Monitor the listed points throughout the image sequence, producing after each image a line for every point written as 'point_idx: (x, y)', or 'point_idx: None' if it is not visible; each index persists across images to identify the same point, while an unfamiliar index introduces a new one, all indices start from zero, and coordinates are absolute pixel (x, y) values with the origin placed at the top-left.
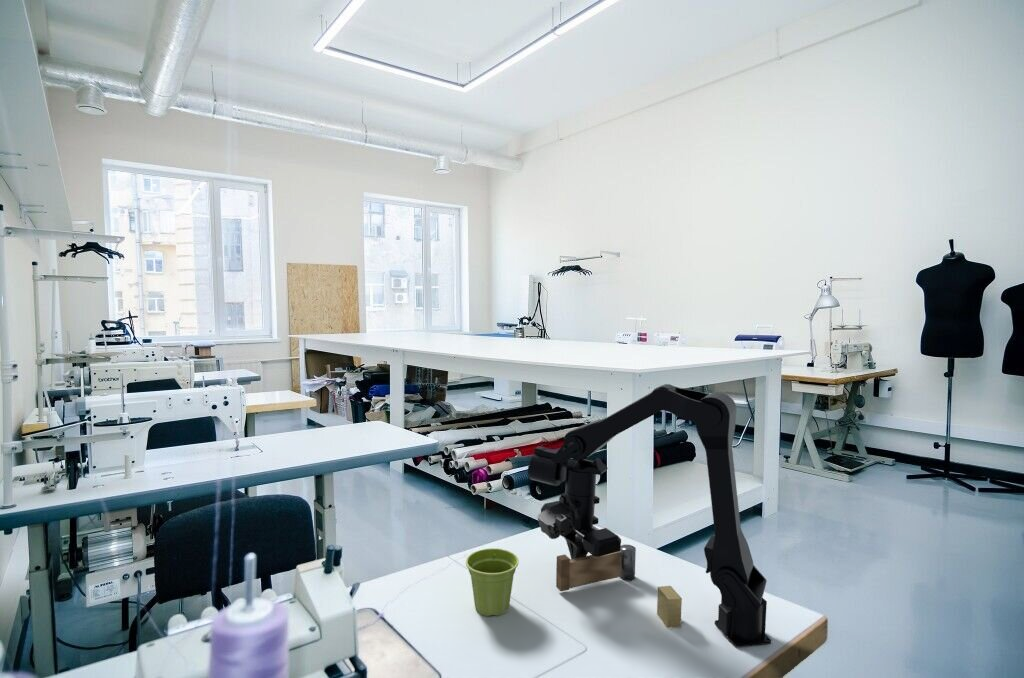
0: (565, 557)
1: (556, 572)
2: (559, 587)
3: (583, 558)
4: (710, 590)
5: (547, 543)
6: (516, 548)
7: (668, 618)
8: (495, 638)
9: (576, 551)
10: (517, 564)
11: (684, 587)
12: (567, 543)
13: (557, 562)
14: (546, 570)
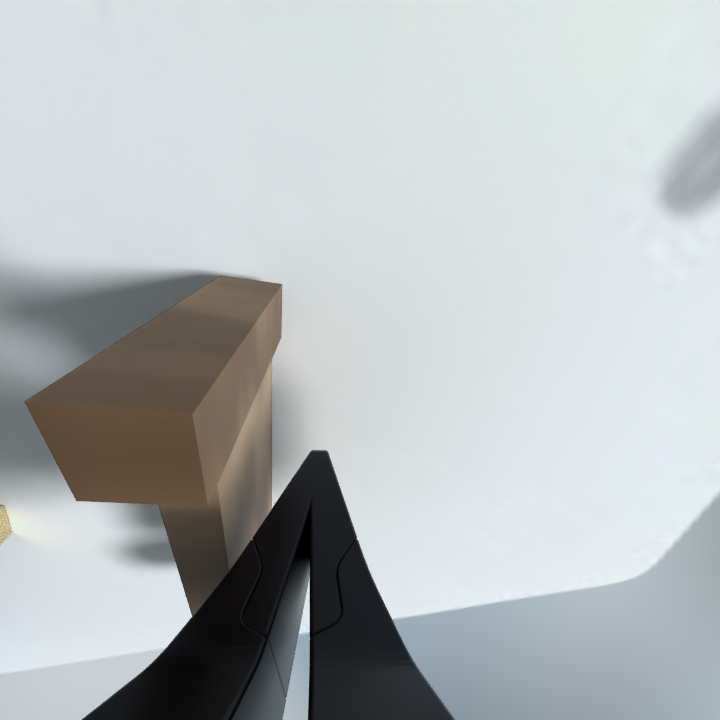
0: (122, 479)
1: (257, 318)
2: (231, 283)
3: (200, 555)
4: (128, 627)
5: (630, 465)
6: None
7: None
8: None
9: (216, 593)
10: None
11: (157, 603)
12: (372, 609)
13: (197, 365)
14: (480, 350)
